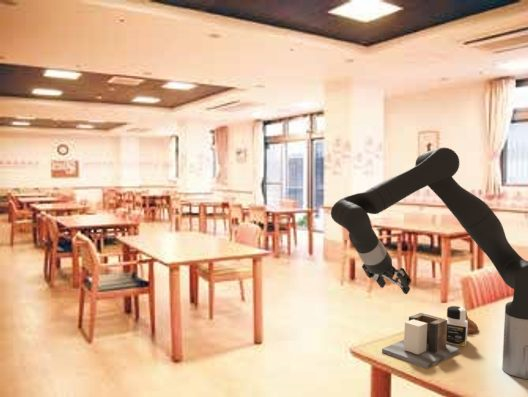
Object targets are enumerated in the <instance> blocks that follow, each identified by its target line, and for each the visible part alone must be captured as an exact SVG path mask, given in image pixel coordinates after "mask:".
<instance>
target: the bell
mask: <svg viewBox="0 0 528 397" xmlns="http://www.w3.org/2000/svg"><path fill="white" fill-rule="evenodd" d="M466 320H467V321H468V330H467V335H470V334H475V333H478V332H479V327H478V325H477V324H476V322H475V321H473V319H471V318H469V316H468V312H467V311H466Z"/></svg>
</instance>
